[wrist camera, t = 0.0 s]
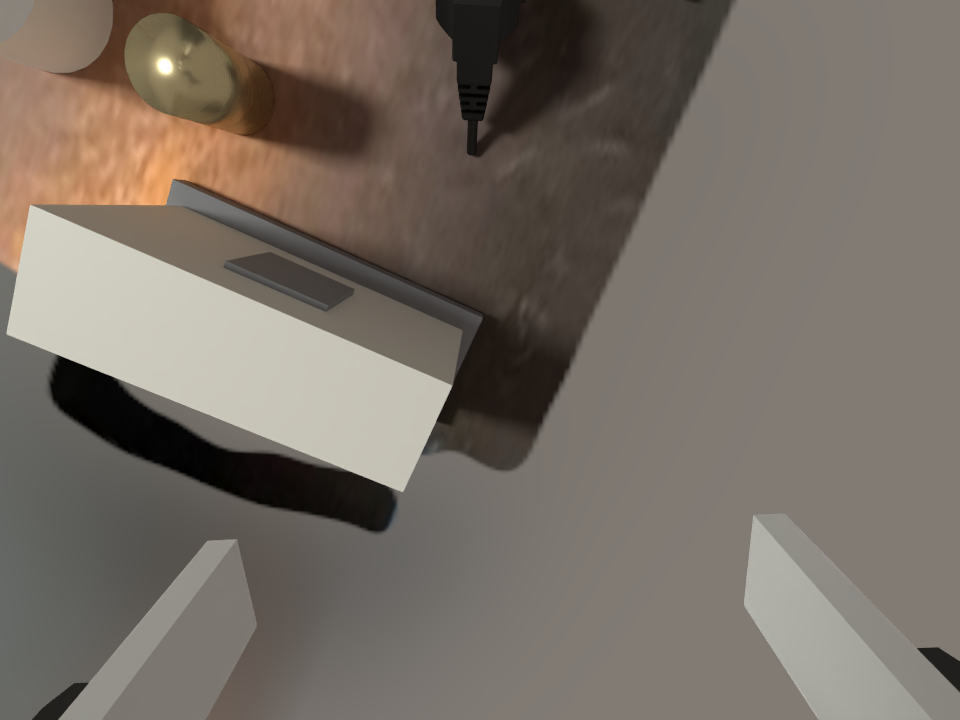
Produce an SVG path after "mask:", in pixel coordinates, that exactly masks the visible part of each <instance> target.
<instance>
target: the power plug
mask: <svg viewBox="0 0 960 720" xmlns="http://www.w3.org/2000/svg"><path fill="white" fill-rule="evenodd" d="M522 2H525V0H436V19H437V21H438V23H439V24H440V26H441V27H442V28H443V30H444V31H445V32H446V33H447V34H448V36H449V37H450V38H451V39H452V59H453V61H456V62H457V83H458V91H459V99H460V106H461V113H462V118H463V119H464V120H468V135H467V153H468V154H469V155H475V154H476V148H477V126H478V121H482V120H483V119H484V115H485V109H486V105H487V101H488V94H489V91H490V85H491V82H492V69H493V64H497V60H498V46H499V43H500V42H501V41H502V40H504V39H505V38H506V37H507V36H508V35H509V34H510V33H511V32H512V31H513V29H514V28H515V27H516V25H517V24H518V15H519V4H520V3H522Z"/></svg>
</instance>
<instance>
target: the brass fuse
mask: <svg viewBox="0 0 960 720" xmlns="http://www.w3.org/2000/svg"><path fill="white" fill-rule="evenodd" d="M124 57H125V66H126V70H127V74H128V77H129V79H130V82H131V83H132V85H133V87H134V89H135V90H136V92H137V93H138V94H139V95H140V97H141V98H142V99H143V100H144V101H145V102H146V103H147V104H149V105H150V106H152V107H153V108H155V109H156V110H158V111H161V112H163V113H166V114H169V115H173V116H176V117H180V118H183V119H186V120H190V121H193V122H197V123H200V124H203V125H207V126H210V127H214V128H217V129H220V130H224V131H227V132H231V133H234V134H238V135H249V134H253V133H255V132H258V131H259V130H261V129H262V128H263V127H264V126H265V125H266V124H267V123H268V122H269V120H270V118H271V116H272V114H273V110H274V92H273V88H272V85H271V82H270V80H269V78H268V77H267V75H266V73H265V72H264V71H263V70H262V69H261V68H260V67H259V66H258V65H257V64H256V63H254V62H253V61H251V60H250V59H248V58H246V57H245V56H243V55H242V54H240V53H238V52H237V51H235V50H234V49H232V48H230V47H229V46H227V45H226V44H224V43H222V42H221V41H219V40H218V39H216V38H214V37H213V36H211V35H210V34H208V33H206V32H205V31H203V30H202V29H200V28H198V27H197V26H195V25H194V24H192V23H190V22H189V21H187V20H186V19H184V18H182V17H180V16H177V15H174V14H169V13H156V14H152V15H149V16H146V17H145V18H143V19H141V20H140V21H139V22H138V23H137V24H136V25H135V26H134V27H133V28H132V30H131V31H130V33H129V35H128V38H127V41H126V45H125V54H124Z"/></svg>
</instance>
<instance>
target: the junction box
mask: <svg viewBox="0 0 960 720" xmlns="http://www.w3.org/2000/svg"><path fill="white" fill-rule="evenodd" d="M482 319H483V314H482V313H480V312H477V311H475V310H473V309H471V308H468V307H466V306H464V305H462V304H459V303H457V302H455V301H453V300H451V299H448V298H446V297H444V296H442V295H439V294H437V293H435V292H433V291H431V290H428V289H426V288H424V287H422V286H419V285H417V284H415V283H413V282H410V281H408V280H406V279H404V278H402V277H399V276H397V275H395V274H393V273H390V272H388V271H386V270H384V269H382V268H379V267H377V266H375V265H373V264H370V263H368V262H366V261H364V260H361V259H359V258H357V257H355V256H353V255H350V254H348V253H346V252H344V251H341V250H339V249H337V248H335V247H333V246H330V245H328V244H326V243H324V242H321V241H319V240H317V239H315V238H312V237H310V236H308V235H306V234H304V233H301V232H299V231H297V230H295V229H292V228H290V227H288V226H286V225H284V224H281V223H279V222H277V221H275V220H272V219H270V218H268V217H266V216H263V215H261V214H259V213H257V212H255V211H252V210H250V209H248V208H246V207H243V206H241V205H239V204H237V203H234V202H232V201H230V200H228V199H226V198H223V197H221V196H219V195H217V194H214V193H212V192H210V191H208V190H206V189H203V188H201V187H199V186H197V185H194V184H192V183H190V182H188V181H185V180H176V179H173V181H172V185H171V189H170V192H169V196H168V200H167V204H166V206H165V205H30V209H29V214H28V220H27V225H26V231H25V236H24V242H23V247H22V252H21V258H20V263H19V269H18V274H17V280H16V285H15V291H14V297H13V302H12V307H11V312H10V318H9V323H8V329H7V334H8V335H10V336H12V337H15V338H17V339H20V340H22V341H25V342H28V343H30V344H33V345H35V346H38V347H40V348H43V349H45V350H47V351H50V352H52V353H55V354H57V355H60V356H62V357H65V358H67V359H70V360H72V361H75V362H77V363H80V364H83V365H85V366H88V367H90V368H93V369H95V370H98V371H100V372H103V373H105V374H108V375H110V376H113V377H115V378H118V379H120V380H123V381H125V382H128V383H130V384H133V385H135V386H138V387H140V388H143V389H145V390H148V391H150V392H153V393H155V394H158V395H160V396H163V397H165V398H168V399H171V400H173V401H175V402H178V403H180V404H183V405H185V406H188V407H190V408H193V409H196V410H198V411H201V412H203V413H206V414H208V415H211V416H213V417H216V418H218V419H221V420H223V421H226V422H228V423H231V424H233V425H236V426H238V427H241V428H243V429H246V430H248V431H251V432H253V433H256V434H258V435H261V436H263V437H266V438H268V439H271V440H273V441H276V442H278V443H281V444H283V445H286V446H288V447H291V448H293V449H296V450H298V451H301V452H303V453H306V454H308V455H311V456H313V457H316V458H319V459H321V460H323V461H326V462H329V463H331V464H334V465H336V466H338V467H341V468H344V469H346V470H349V471H351V472H354V473H356V474H359V475H361V476H364V477H366V478H369V479H371V480H374V481H376V482H379V483H381V484H384V485H386V486H389V487H391V488H394V489H396V490H399V491H401V492H403V491H404V489H405V487H406V484H407V482H408V480H409V478H410V476H411V474H412V472H413V470H414V467H415V465H416V463H417V461H418V459H419V457H420V455H421V452H422V450H423V448H424V446H425V444H426V442H427V439H428V437H429V435H430V433H431V431H432V429H433V427H434V424H435V422H436V420H437V418H438V416H439V414H440V412H441V409H442V407H443V405H444V403H445V401H446V399H447V397H448V394H449V392H450V390H451V388H452V386H453V381H454V379H455V377H456V375H457V373H458V371H459V368H460V366H461V364H462V362H463V360H464V358H465V356H466V353H467V351H468V349H469V347H470V345H471V343H472V340H473V338H474V336H475V334H476V332H477V330H478V328H479V325H480V323H481V321H482Z"/></svg>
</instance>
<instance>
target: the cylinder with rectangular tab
mask: <svg viewBox="0 0 960 720" xmlns="http://www.w3.org/2000/svg"><path fill="white" fill-rule="evenodd" d="M112 26H113V3H112V0H0V57H1V58H4V59H7V60H11V61H14V62H17V63H20V64H23V65H27V66H30V67H33V68H36V69H40V70H44V71H48V72H52V73H72V72H74V71H77V70H80V69H83V68H85V67H87V66H88V65H90V64H91V63H92V62H93V61H95V60H96V59H97V58H98V57H99V56H100V54H101V53H102V51H103V50H104V48H105V46H106V45H107V43H108V40H109V37H110V33H111V30H112Z"/></svg>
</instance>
